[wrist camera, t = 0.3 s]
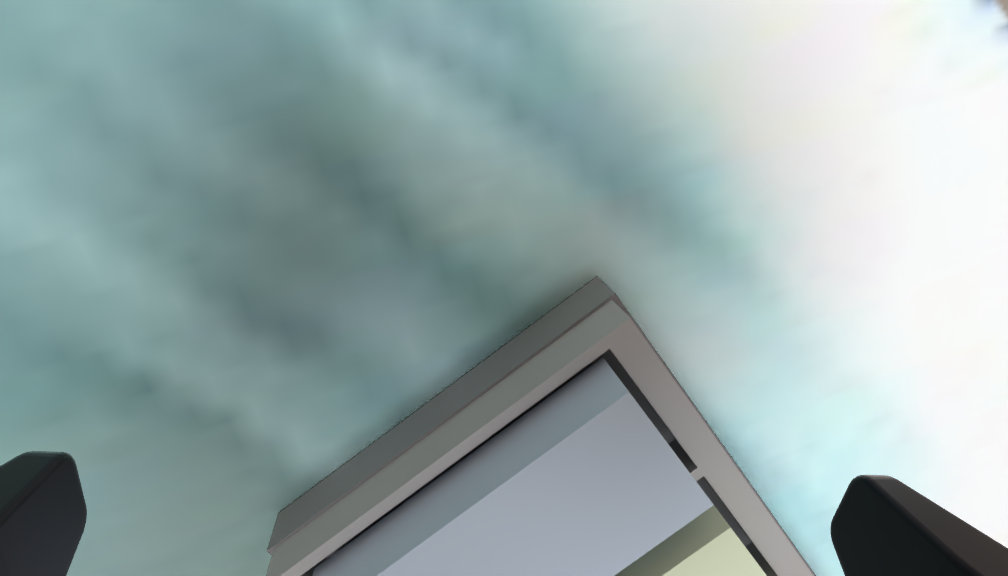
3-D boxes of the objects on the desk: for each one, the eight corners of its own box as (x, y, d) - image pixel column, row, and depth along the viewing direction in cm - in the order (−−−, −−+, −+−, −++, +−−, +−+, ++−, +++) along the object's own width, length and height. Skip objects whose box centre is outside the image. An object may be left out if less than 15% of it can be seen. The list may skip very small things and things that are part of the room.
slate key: (407, 655, 21) (408, 721, 19) (313, 569, 20) (302, 629, 18) (680, 460, 21) (713, 505, 19) (602, 356, 19) (628, 391, 17)
